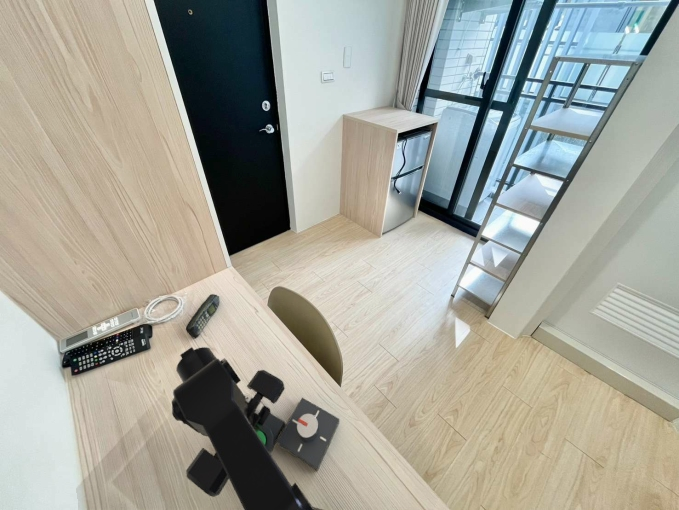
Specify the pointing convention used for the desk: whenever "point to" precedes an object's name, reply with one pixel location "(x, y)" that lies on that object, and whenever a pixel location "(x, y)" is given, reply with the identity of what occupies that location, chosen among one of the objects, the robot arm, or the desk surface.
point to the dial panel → (318, 447)
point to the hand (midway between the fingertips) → (251, 436)
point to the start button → (262, 437)
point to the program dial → (308, 427)
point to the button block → (272, 430)
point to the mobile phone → (202, 316)
